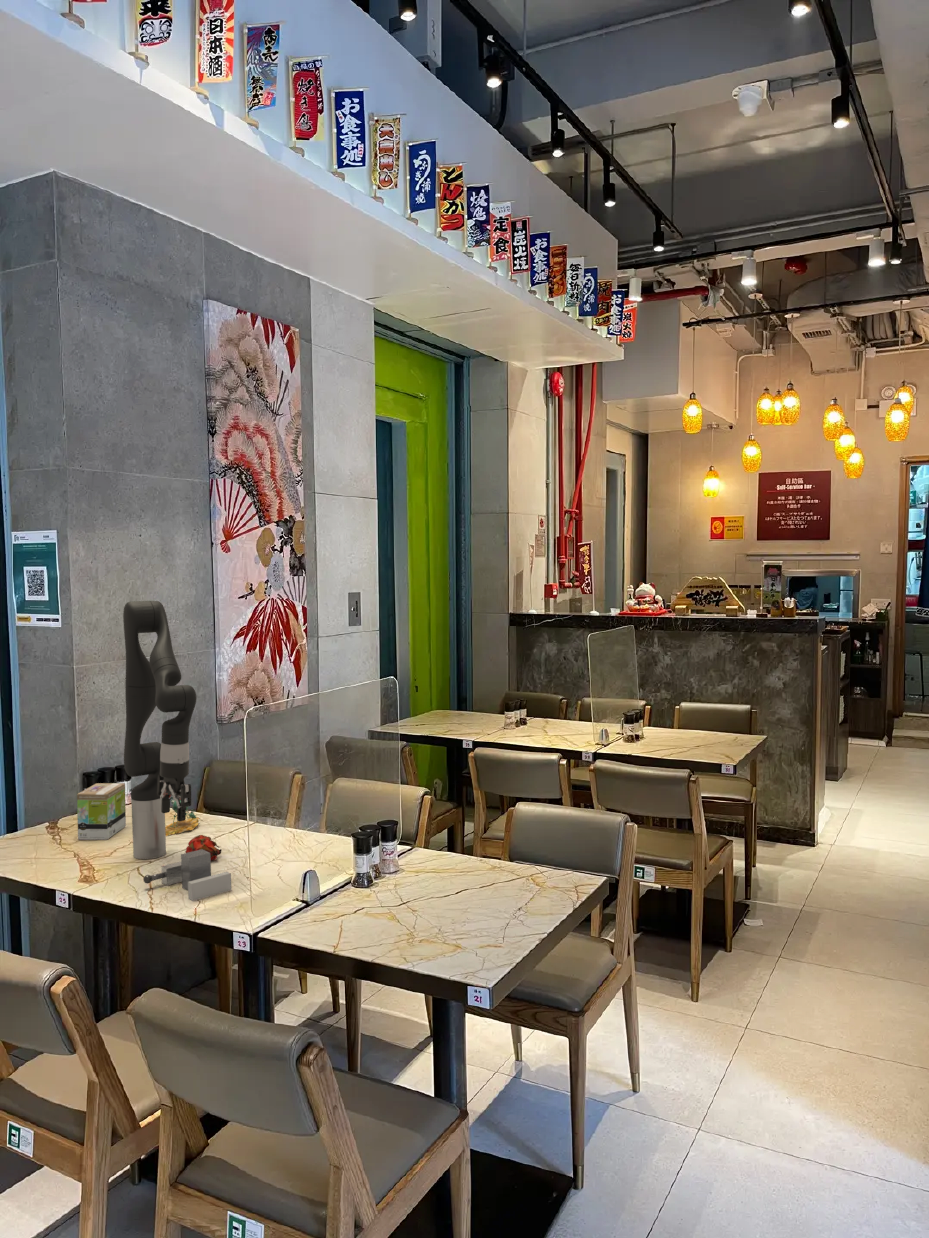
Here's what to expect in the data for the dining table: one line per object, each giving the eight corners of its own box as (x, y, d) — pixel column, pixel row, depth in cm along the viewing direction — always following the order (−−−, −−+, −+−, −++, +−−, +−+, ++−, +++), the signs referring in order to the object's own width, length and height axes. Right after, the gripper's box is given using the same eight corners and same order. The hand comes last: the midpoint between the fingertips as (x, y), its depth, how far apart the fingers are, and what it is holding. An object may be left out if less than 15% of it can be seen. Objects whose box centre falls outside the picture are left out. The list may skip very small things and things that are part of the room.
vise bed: (153, 884, 252) (152, 863, 252) (191, 874, 260) (190, 854, 259) (192, 905, 236) (191, 883, 236) (231, 894, 244) (230, 873, 243)
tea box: (109, 840, 293) (107, 793, 292) (77, 840, 293) (75, 793, 292) (127, 826, 308) (125, 781, 307) (96, 826, 308) (94, 782, 307)
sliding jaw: (141, 888, 246) (140, 871, 246) (196, 873, 256) (196, 857, 256) (146, 890, 244) (145, 873, 243) (201, 876, 254) (201, 860, 254)
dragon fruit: (192, 862, 275) (216, 876, 268) (172, 852, 269) (196, 866, 262) (208, 836, 278) (232, 849, 270) (189, 825, 272) (213, 839, 264)
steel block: (182, 887, 246) (180, 854, 245) (203, 882, 250) (202, 849, 249) (190, 892, 243) (189, 858, 242) (211, 886, 247) (210, 852, 246)
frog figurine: (214, 823, 310) (210, 780, 308) (175, 844, 295) (170, 799, 292) (192, 819, 315) (187, 777, 312) (152, 840, 299) (147, 795, 296)
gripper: (148, 754, 257) (147, 812, 258) (175, 766, 247) (173, 826, 248) (174, 751, 262) (173, 807, 264) (200, 762, 252) (199, 820, 254)
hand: (173, 816), depth 256 cm, fingers open, 8 cm apart
